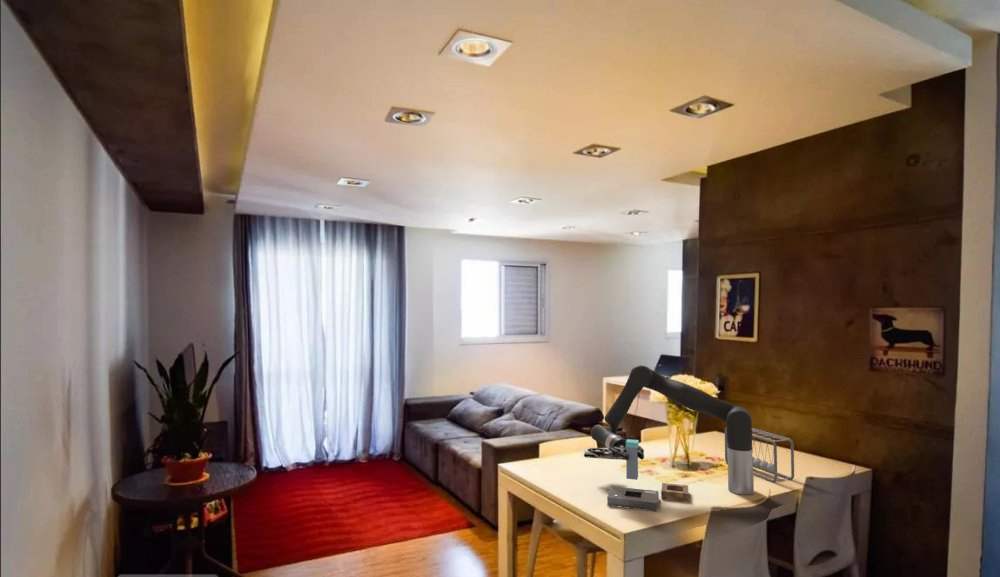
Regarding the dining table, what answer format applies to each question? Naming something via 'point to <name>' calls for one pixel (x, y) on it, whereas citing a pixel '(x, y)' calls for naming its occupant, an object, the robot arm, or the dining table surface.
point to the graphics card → (598, 453)
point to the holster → (674, 492)
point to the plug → (632, 459)
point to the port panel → (633, 498)
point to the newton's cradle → (764, 464)
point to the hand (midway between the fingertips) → (635, 457)
